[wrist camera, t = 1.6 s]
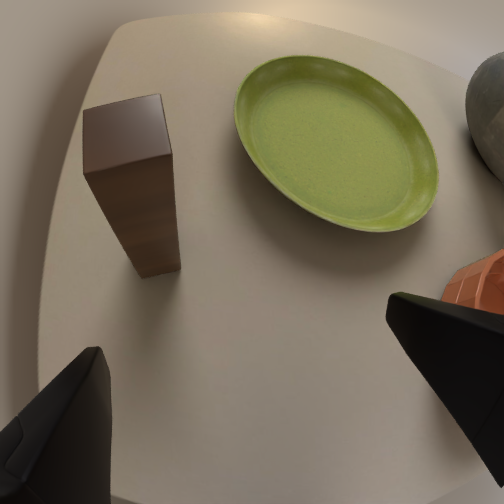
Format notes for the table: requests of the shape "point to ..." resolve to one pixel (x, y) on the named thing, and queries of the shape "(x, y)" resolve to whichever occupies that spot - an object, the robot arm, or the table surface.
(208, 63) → the table surface
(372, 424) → the table surface
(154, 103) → the block
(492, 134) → the bowl
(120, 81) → the table surface
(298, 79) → the saucer
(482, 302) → the mixing bowl
